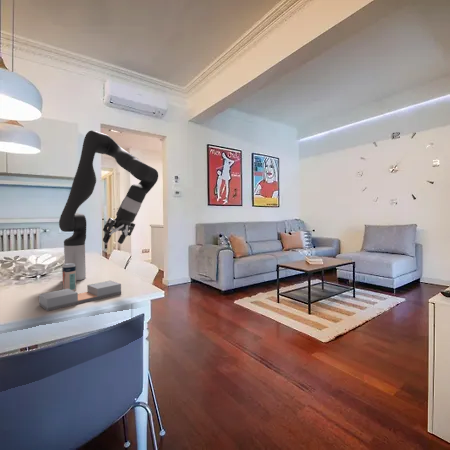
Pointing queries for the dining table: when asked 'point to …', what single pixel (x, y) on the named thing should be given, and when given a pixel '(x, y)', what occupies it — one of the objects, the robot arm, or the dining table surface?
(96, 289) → the grey peach bar
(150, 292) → the dining table surface
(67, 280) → the beer can
